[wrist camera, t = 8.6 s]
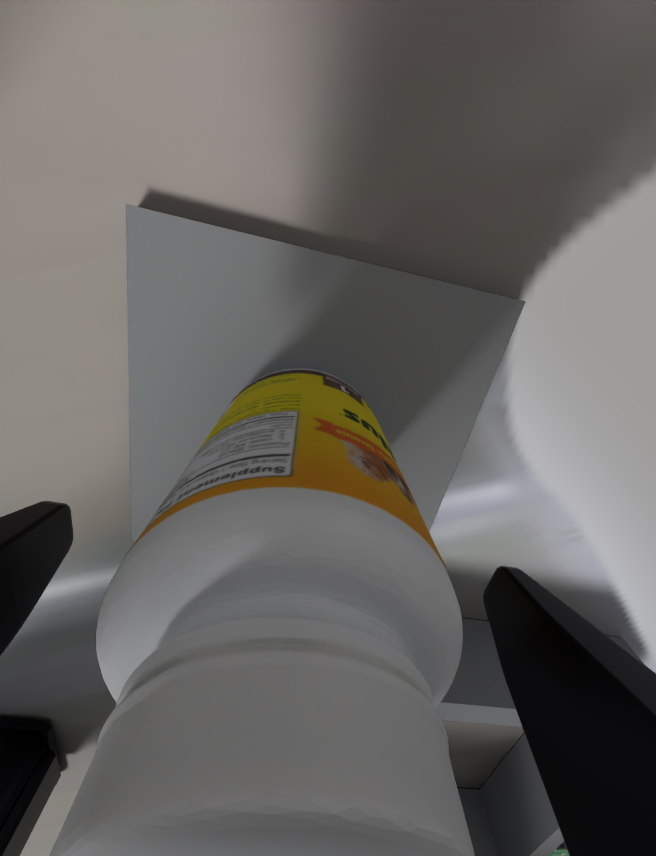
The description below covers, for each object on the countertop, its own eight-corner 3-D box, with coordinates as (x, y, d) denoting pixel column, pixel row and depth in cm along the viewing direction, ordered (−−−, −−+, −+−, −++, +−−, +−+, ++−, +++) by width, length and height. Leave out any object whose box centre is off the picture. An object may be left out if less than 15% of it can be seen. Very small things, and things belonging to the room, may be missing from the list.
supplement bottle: (394, 478, 13) (585, 955, 4) (259, 518, 14) (147, 1025, 4) (353, 339, 11) (561, 659, 2) (195, 392, 12) (-289, 864, 2)
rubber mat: (138, 530, 15) (131, 540, 14) (136, 207, 10) (126, 203, 9) (406, 567, 16) (409, 577, 16) (515, 300, 11) (525, 301, 11)
